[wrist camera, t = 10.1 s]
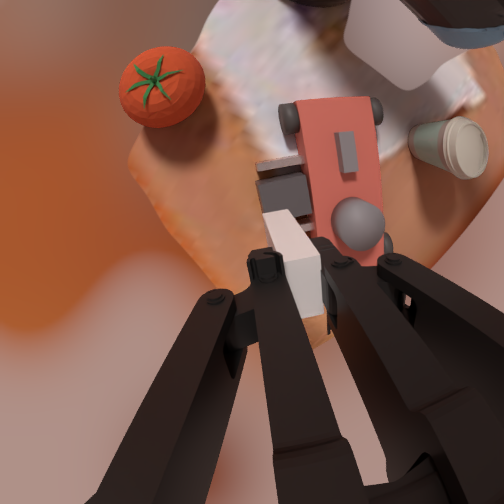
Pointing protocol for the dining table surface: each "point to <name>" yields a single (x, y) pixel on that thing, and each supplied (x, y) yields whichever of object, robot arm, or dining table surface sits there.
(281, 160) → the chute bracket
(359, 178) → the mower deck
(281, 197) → the grey cube
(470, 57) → the dining table surface
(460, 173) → the coffee cup
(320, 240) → the robot arm
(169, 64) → the tomato
